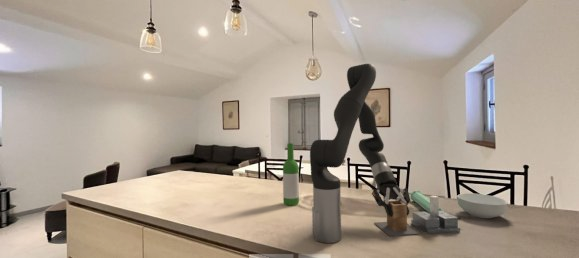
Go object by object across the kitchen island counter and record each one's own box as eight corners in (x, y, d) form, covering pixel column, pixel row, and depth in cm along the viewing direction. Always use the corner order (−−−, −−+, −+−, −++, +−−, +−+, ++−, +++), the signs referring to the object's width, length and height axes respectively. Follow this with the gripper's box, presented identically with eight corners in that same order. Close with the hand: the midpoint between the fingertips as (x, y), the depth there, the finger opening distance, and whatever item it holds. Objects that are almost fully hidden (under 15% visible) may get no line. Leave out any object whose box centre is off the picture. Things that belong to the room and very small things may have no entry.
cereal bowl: (459, 218, 104) (459, 200, 104) (455, 207, 118) (455, 191, 118) (513, 225, 96) (513, 206, 96) (502, 212, 111) (501, 195, 111)
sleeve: (393, 230, 91) (393, 205, 91) (387, 225, 96) (386, 201, 96) (407, 229, 92) (406, 204, 92) (399, 224, 97) (399, 200, 97)
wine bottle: (281, 205, 125) (280, 143, 125) (286, 201, 132) (285, 143, 132) (296, 206, 122) (295, 143, 123) (300, 202, 130) (299, 143, 130)
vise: (427, 234, 89) (427, 200, 89) (411, 223, 99) (410, 193, 99) (470, 231, 90) (470, 198, 90) (450, 221, 100) (449, 192, 100)
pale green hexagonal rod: (443, 204, 104) (419, 188, 128) (428, 209, 104) (408, 192, 129) (449, 217, 103) (424, 199, 128) (434, 222, 104) (413, 203, 129)
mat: (389, 236, 87) (389, 235, 87) (374, 223, 99) (374, 222, 99) (422, 234, 89) (422, 233, 89) (403, 221, 101) (403, 220, 101)
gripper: (368, 171, 101) (383, 211, 89) (403, 169, 102) (422, 209, 90) (363, 181, 106) (377, 221, 94) (396, 180, 107) (414, 219, 96)
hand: (399, 214), depth 92 cm, fingers open, 5 cm apart
